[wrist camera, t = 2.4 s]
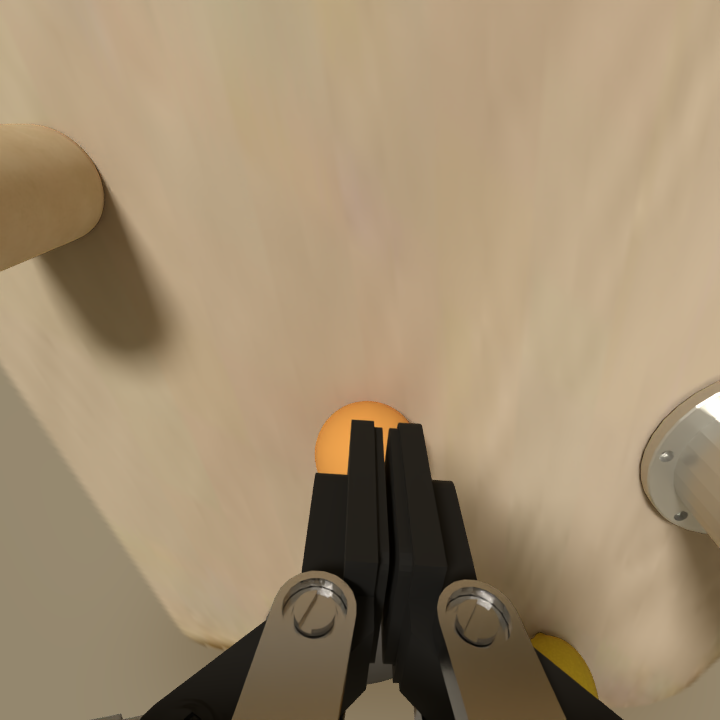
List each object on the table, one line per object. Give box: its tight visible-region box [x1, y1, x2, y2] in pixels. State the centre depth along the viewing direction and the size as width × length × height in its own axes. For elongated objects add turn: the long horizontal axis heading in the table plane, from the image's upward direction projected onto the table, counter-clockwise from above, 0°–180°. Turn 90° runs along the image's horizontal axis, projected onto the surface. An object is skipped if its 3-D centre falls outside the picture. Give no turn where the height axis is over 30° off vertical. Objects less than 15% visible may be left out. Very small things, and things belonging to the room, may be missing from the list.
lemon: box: [530, 633, 599, 700], centre depth 36 cm, size 6×6×8 cm
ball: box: [315, 401, 409, 475], centre depth 27 cm, size 6×6×6 cm
